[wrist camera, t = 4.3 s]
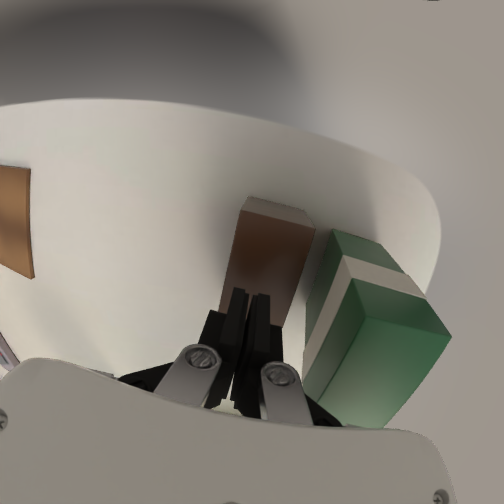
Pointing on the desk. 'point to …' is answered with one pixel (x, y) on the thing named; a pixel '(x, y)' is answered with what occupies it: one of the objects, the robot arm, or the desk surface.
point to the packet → (366, 334)
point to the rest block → (268, 254)
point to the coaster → (15, 220)
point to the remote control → (7, 356)
